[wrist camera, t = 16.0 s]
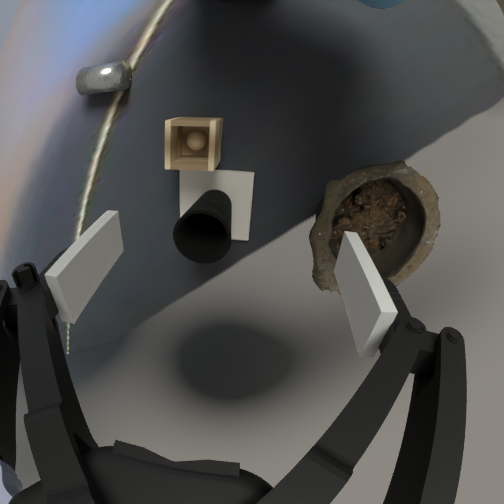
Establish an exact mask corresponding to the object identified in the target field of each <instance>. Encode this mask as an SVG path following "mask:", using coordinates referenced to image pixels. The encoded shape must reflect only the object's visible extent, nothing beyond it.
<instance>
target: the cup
mask: <svg viewBox="0 0 504 504" xmlns="http://www.w3.org/2000/svg"><path fill="white" fill-rule="evenodd" d="M231 225H232V204H231V200H230V198H229V196H228V195H227V194H226V193H224V192H223V191H220V190H216V189H214V190H209V191H206V192H205V193H204V194H203V195H202V196H201V197H200V198H199V199H198V200H197V201H196V202H195V203H194V204H193V205H192V206H191V207H190V208H189V209H188V210H187V211H186V212H185V213H184V214H183V215H182V217H181V218H180V219H179V220H178V221H177V223H176V225H175V227H174V231H173V239H174V242H175V245H176V247H177V249H178V250H179V251H180V253H181V254H182V255H183V256H185V257H186V258H188V259H189V260H192V261H194V262H198V263H212V262H215V261H217V260H219V259H221V258H222V257H223V256H225V255H226V253H227V252H228V250H229V248H230V245H231Z"/></svg>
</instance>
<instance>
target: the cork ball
mask: <svg viewBox="0 0 504 504" xmlns="http://www.w3.org/2000/svg"><path fill="white" fill-rule="evenodd" d="M206 141H207V139H206V136H205V134H204V133H202V132H200V131H193V132H191V133H190V134H189V135H188V137H187V145H188V146H189V148H191V149H193V150H200V149H202V148H203V147H204V146H205V145H206Z"/></svg>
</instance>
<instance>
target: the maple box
mask: <svg viewBox="0 0 504 504" xmlns="http://www.w3.org/2000/svg"><path fill="white" fill-rule="evenodd" d="M222 126H223V118H215V117H177V118H173V119H169V120H165V169H174V170H200V171H214V170H215V168H216V167H217V165H218V164H219V162H220V161H221V142H222ZM193 131H200V132H202V133H204V134H205V136H206V139H207V141H206V145H205V146H204V147H203V148H202V149H200V150H193V149H191V148H189V146H188V145H187V137H188V135H189V134H190V133H191V132H193Z"/></svg>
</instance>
